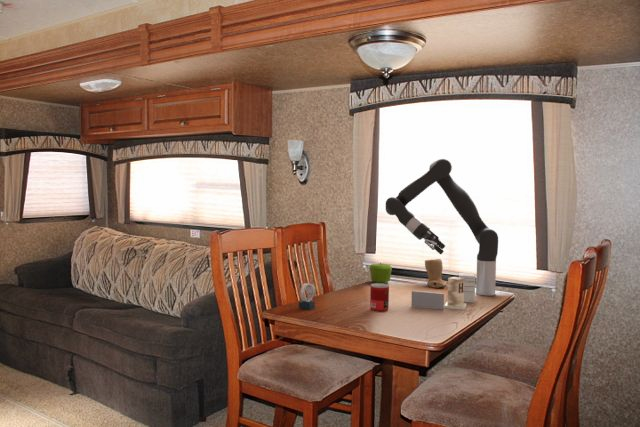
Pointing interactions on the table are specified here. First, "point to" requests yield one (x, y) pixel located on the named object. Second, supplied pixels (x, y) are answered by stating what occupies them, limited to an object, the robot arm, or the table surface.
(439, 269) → the tan boot
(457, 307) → the mat
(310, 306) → the snow globe
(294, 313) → the table surface
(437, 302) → the screen
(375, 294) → the canned food
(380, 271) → the apple
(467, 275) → the supplement box
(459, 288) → the marked block
